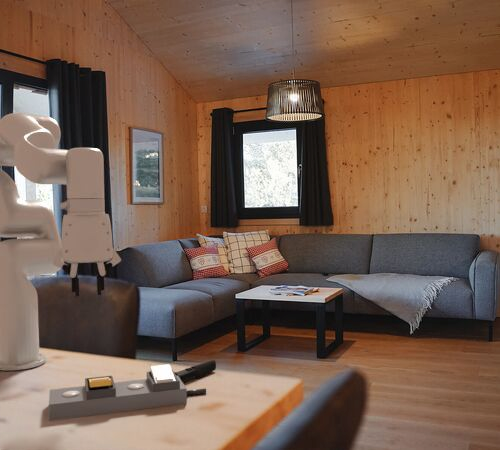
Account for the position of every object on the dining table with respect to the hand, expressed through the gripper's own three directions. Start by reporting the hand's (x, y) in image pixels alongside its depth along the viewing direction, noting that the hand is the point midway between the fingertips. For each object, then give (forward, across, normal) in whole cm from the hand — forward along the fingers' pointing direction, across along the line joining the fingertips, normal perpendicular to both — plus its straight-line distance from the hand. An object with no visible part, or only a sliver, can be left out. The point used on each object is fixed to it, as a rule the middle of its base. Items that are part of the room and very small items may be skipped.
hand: (88, 294), depth 119 cm
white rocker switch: (+17, +14, -8) cm, 23 cm away
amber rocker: (+17, +2, -8) cm, 19 cm away
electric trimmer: (+22, +22, +3) cm, 31 cm away
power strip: (+21, +8, -8) cm, 24 cm away
